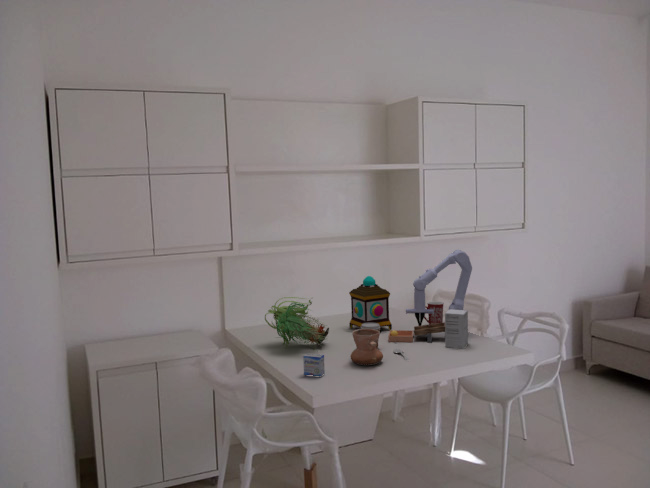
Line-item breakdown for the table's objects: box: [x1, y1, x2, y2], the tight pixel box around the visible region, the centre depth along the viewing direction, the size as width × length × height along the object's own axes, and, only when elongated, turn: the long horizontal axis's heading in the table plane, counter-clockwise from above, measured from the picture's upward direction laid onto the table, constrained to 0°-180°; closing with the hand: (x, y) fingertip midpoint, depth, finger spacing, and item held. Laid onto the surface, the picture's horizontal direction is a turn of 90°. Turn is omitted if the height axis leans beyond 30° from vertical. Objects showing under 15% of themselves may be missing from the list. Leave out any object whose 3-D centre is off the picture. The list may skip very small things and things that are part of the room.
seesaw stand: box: [426, 333, 433, 344], centre depth 285 cm, size 2×13×5 cm, turn 170°
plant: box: [264, 296, 330, 352], centre depth 281 cm, size 30×30×35 cm
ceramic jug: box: [350, 328, 384, 366], centre depth 250 cm, size 18×14×14 cm
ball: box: [390, 329, 398, 336], centre depth 289 cm, size 4×4×4 cm
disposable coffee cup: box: [360, 323, 381, 350], centre depth 271 cm, size 10×10×12 cm
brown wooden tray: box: [413, 321, 445, 337], centre depth 288 cm, size 16×16×3 cm
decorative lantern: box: [348, 275, 393, 331], centre depth 310 cm, size 20×20×30 cm
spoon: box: [393, 347, 411, 361], centre depth 257 cm, size 4×21×2 cm, turn 13°
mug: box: [423, 300, 445, 325], centre depth 311 cm, size 13×9×14 cm
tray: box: [387, 329, 414, 343], centre depth 288 cm, size 12×12×3 cm
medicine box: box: [302, 353, 326, 377], centre depth 235 cm, size 8×4×9 cm, turn 69°
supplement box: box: [444, 308, 469, 350], centre depth 272 cm, size 10×9×17 cm
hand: (420, 327), depth 294 cm, fingers closed, pressing on brown wooden tray
